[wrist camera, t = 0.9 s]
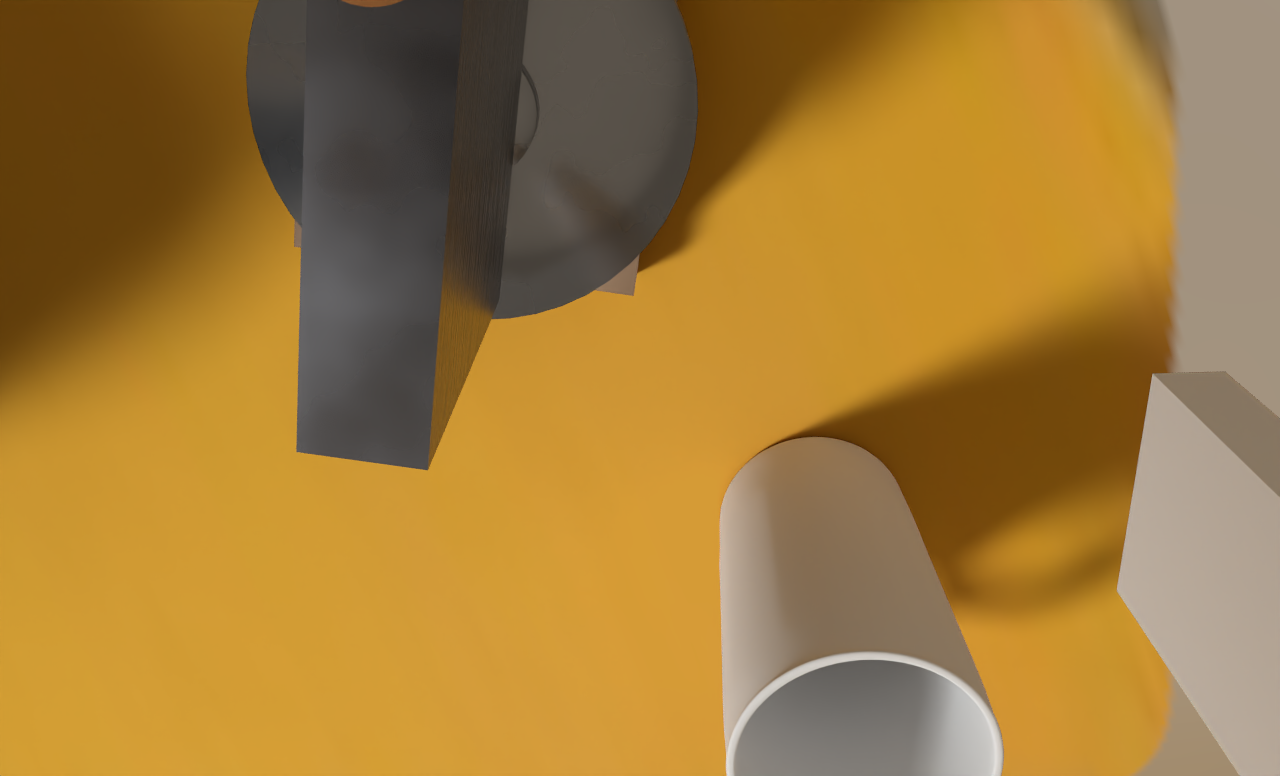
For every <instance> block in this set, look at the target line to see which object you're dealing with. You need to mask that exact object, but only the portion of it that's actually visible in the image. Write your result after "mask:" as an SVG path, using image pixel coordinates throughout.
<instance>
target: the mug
mask: <svg viewBox="0 0 1280 776" xmlns="http://www.w3.org/2000/svg"><path fill="white" fill-rule="evenodd" d="M720 593H721V632H722V678H723V716H724V733H725V745H726V773H727V776H1001V774H1002V769H1003V761H1004V749H1003V740H1002V735H1001V731H1000V728H999V725H998V722H997V720H996V718H995V716H994V714H993V711H992V708H991V705H990V702H989V699H988V696H987V694H986V691H985V688H984V686H983V683H982V681H981V678H980V676H979V673H978V671H977V668H976V666H975V664H974V661H973V659H972V656H971V654H970V652H969V649H968V647H967V645H966V642H965V640H964V637H963V635H962V633H961V630H960V628H959V626H958V623H957V621H956V619H955V616H954V614H953V611H952V609H951V607H950V604H949V602H948V600H947V597H946V595H945V593H944V590H943V588H942V585H941V583H940V581H939V578H938V576H937V574H936V571H935V569H934V566H933V564H932V562H931V559H930V557H929V554H928V552H927V549H926V547H925V545H924V542H923V540H922V537H921V535H920V532H919V530H918V527H917V525H916V523H915V520H914V518H913V516H912V513H911V511H910V509H909V507H908V505H907V502H906V500H905V498H904V496H903V494H902V492H901V490H900V487H899V485H898V483H897V482H896V480H895V478H894V477H893V475H892V474H891V472H890V471H889V470H888V468H887V467H886V466H885V465H884V464H883V463H882V462H881V461H880V460H879V459H878V458H876V457H875V456H874V455H872V454H871V453H870V452H868V451H866V450H865V449H863V448H861V447H859V446H857V445H854V444H852V443H849V442H846V441H843V440H839V439H834V438H827V437H805V438H798V439H793V440H789V441H785V442H782V443H779V444H777V445H774V446H772V447H770V448H768V449H766V450H764V451H762V452H761V453H759V454H758V455H756V456H755V457H753V458H752V459H751V460H750V461H748V462H747V463H746V464H745V465H744V466H743V467H742V468H741V469H740V471H739V472H738V473H737V474H736V476H735V477H734V478H733V480H732V481H731V483H730V485H729V487H728V489H727V491H726V493H725V496H724V499H723V502H722V506H721V512H720Z"/></svg>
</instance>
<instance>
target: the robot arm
mask: <svg viewBox="0 0 1280 776" xmlns="http://www.w3.org/2000/svg"><path fill="white" fill-rule="evenodd" d="M1117 592H1118V593H1119V595H1120V596H1121V598H1122V599H1123V601H1124V602H1125V604H1126V605H1127V607H1128V608H1129V610H1130V611H1131V613H1132V614H1133V616H1134V617H1135V619H1136V620H1137V622H1138V623H1139V625H1140V626H1141V628H1142V629H1143V631H1144V632H1145V634H1146V635H1147V637H1148V638H1149V640H1150V641H1151V643H1152V644H1153V646H1154V647H1155V649H1156V650H1157V652H1158V653H1159V655H1160V656H1161V658H1162V659H1163V661H1164V662H1165V664H1166V665H1167V667H1168V668H1169V670H1170V671H1171V673H1172V675H1173V676H1174V678H1175V679H1176V681H1177V682H1178V684H1179V685H1180V687H1181V688H1182V689H1183V691H1184V693H1185V694H1186V696H1187V697H1188V698H1189V700H1190V702H1191V703H1192V705H1193V706H1194V708H1195V709H1196V711H1197V712H1198V713H1199V715H1200V716H1201V718H1202V720H1203V721H1204V722H1205V724H1206V726H1207V727H1208V729H1209V730H1210V732H1211V733H1212V735H1213V736H1214V738H1215V739H1216V741H1217V742H1218V744H1219V745H1220V747H1221V748H1222V749H1223V751H1224V753H1225V754H1226V756H1227V757H1228V759H1229V760H1230V762H1231V763H1232V765H1233V766H1234V768H1235V769H1236V771H1237V772H1238V774H1239V775H1240V776H1280V418H1279V417H1278V416H1276V415H1275V414H1274V413H1273V412H1272V411H1270V410H1269V409H1268V408H1267V407H1266V406H1265V405H1263V404H1262V403H1261V402H1260V401H1259V400H1258V399H1256V398H1255V397H1254V396H1253V395H1252V394H1250V393H1249V392H1248V391H1247V390H1246V389H1245V388H1244V387H1242V386H1241V385H1240V384H1239V383H1237V382H1236V381H1235V380H1234V379H1233V378H1232V377H1231V376H1229V375H1228V374H1227V373H1226V372H1192V373H1155V374H1152V380H1151V386H1150V392H1149V398H1148V404H1147V410H1146V416H1145V422H1144V428H1143V435H1142V441H1141V447H1140V453H1139V459H1138V465H1137V471H1136V477H1135V483H1134V489H1133V495H1132V501H1131V507H1130V513H1129V519H1128V525H1127V531H1126V537H1125V543H1124V549H1123V555H1122V561H1121V568H1120V574H1119V580H1118V586H1117Z"/></svg>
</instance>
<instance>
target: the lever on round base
mask: <svg viewBox="0 0 1280 776" xmlns="http://www.w3.org/2000/svg"><path fill="white" fill-rule="evenodd" d="M246 77H247V93H248V106H249V111H250V116H251V121H252V127H253V132H254V136H255V139H256V142H257V145H258V148H259V151H260V154H261V158H262V161H263V163H264V165H265V168H266V170H267V172H268V174H269V176H270V178H271V181H272V183H273V185H274V187H275V189H276V191H277V193H278V194H279V196H280V197H281V199H282V201H283V202H284V204H285V206H286V207H287V209H288V211H289V212H290V214H291V215H292V216H293V218H294V219H295V220H296V221H297V223H298V224H299V225H300V227H301V228H302V233H301V277H300V321H299V365H298V408H297V452H301V453H309V454H316V455H323V456H330V457H337V458H344V459H352V460H359V461H366V462H373V463H380V464H387V465H395V466H402V467H409V468H416V469H423V470H428V469H429V466H430V464H431V461H432V459H433V457H434V454H435V452H436V450H437V447H438V445H439V442H440V440H441V438H442V435H443V433H444V431H445V428H446V426H447V423H448V421H449V419H450V416H451V414H452V411H453V409H454V407H455V404H456V402H457V400H458V397H459V395H460V392H461V390H462V388H463V385H464V383H465V381H466V378H467V376H468V373H469V371H470V369H471V366H472V364H473V361H474V359H475V357H476V354H477V352H478V350H479V347H480V345H481V342H482V340H483V338H484V335H485V333H486V331H487V328H488V326H489V323H490V321H491V319H504V318H514V317H520V316H526V315H532V314H537V313H540V312H544V311H547V310H550V309H554V308H557V307H560V306H563V305H565V304H567V303H570V302H572V301H574V300H576V299H578V298H581V297H583V296H585V295H587V294H589V293H590V292H592V291H594V290H595V289H597V288H598V287H600V286H602V285H603V284H605V283H607V282H608V281H610V280H611V279H612V278H613V277H615V276H616V275H617V274H618V273H619V272H621V271H622V270H623V269H624V268H626V267H627V266H628V265H629V264H630V263H631V262H632V261H633V260H634V259H635V258H636V257H637V256H638V255H639V254H640V253H641V252H642V251H643V250H644V249H645V247H646V246H647V245H648V244H649V243H650V242H651V240H652V239H653V238H654V236H655V235H656V233H657V232H658V231H659V229H660V228H661V226H662V225H663V224H664V222H665V221H666V219H667V217H668V215H669V213H670V211H671V209H672V208H673V206H674V204H675V202H676V200H677V198H678V196H679V194H680V191H681V188H682V186H683V183H684V180H685V177H686V175H687V172H688V169H689V165H690V161H691V156H692V152H693V148H694V143H695V136H696V126H697V116H698V100H697V78H696V71H695V64H694V58H693V52H692V46H691V43H690V39H689V36H688V32H687V29H686V26H685V22H684V19H683V16H682V14H681V11H680V9H679V7H678V5H677V2H676V0H259V2H258V5H257V8H256V11H255V14H254V18H253V23H252V28H251V33H250V38H249V43H248V56H247V71H246Z"/></svg>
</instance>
